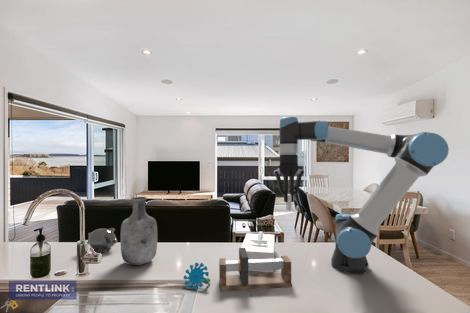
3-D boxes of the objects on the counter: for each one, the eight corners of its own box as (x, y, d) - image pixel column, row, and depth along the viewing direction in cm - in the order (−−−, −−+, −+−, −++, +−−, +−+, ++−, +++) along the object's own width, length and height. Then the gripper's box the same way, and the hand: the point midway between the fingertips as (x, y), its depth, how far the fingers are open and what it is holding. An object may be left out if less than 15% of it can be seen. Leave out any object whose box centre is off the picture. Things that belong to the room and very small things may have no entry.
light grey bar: (284, 265, 107) (284, 257, 107) (287, 269, 103) (287, 260, 103) (222, 268, 105) (222, 260, 104) (222, 272, 101) (222, 263, 101)
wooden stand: (285, 275, 110) (285, 253, 110) (292, 287, 100) (292, 264, 100) (219, 278, 108) (219, 256, 108) (220, 291, 98) (219, 267, 98)
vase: (112, 267, 118) (111, 200, 118) (136, 254, 134) (135, 194, 133) (143, 272, 113) (142, 202, 113) (164, 257, 129) (163, 196, 128)
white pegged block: (239, 270, 115) (239, 245, 115) (246, 249, 140) (246, 228, 140) (273, 273, 113) (273, 247, 113) (274, 251, 138) (274, 230, 137)
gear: (177, 282, 101) (192, 258, 107) (184, 287, 105) (197, 264, 111) (200, 294, 96) (214, 267, 101) (206, 299, 100) (219, 274, 105)
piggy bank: (111, 255, 132) (111, 232, 132) (82, 254, 133) (81, 232, 133) (122, 247, 144) (121, 226, 143) (94, 247, 144) (94, 225, 144)
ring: (245, 272, 109) (244, 247, 109) (248, 284, 99) (248, 257, 99) (239, 272, 108) (239, 247, 108) (242, 284, 99) (241, 257, 98)
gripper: (300, 153, 117) (300, 207, 117) (271, 154, 116) (271, 208, 116) (306, 154, 109) (306, 211, 110) (275, 154, 108) (275, 212, 109)
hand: (288, 209), depth 113 cm, fingers closed
